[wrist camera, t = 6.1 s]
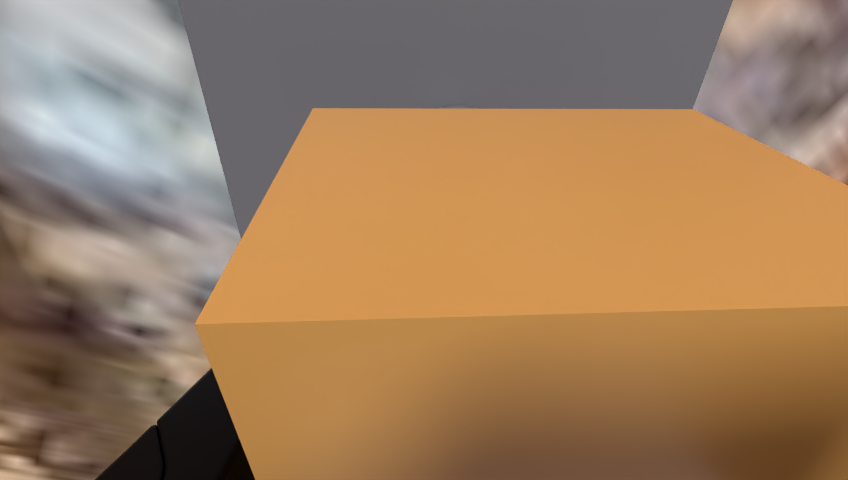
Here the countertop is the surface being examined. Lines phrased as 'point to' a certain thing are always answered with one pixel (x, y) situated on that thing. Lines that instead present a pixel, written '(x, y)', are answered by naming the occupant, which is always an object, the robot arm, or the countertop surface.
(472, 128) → the tan wooden cube
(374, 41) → the post board
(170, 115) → the countertop surface
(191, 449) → the robot arm
